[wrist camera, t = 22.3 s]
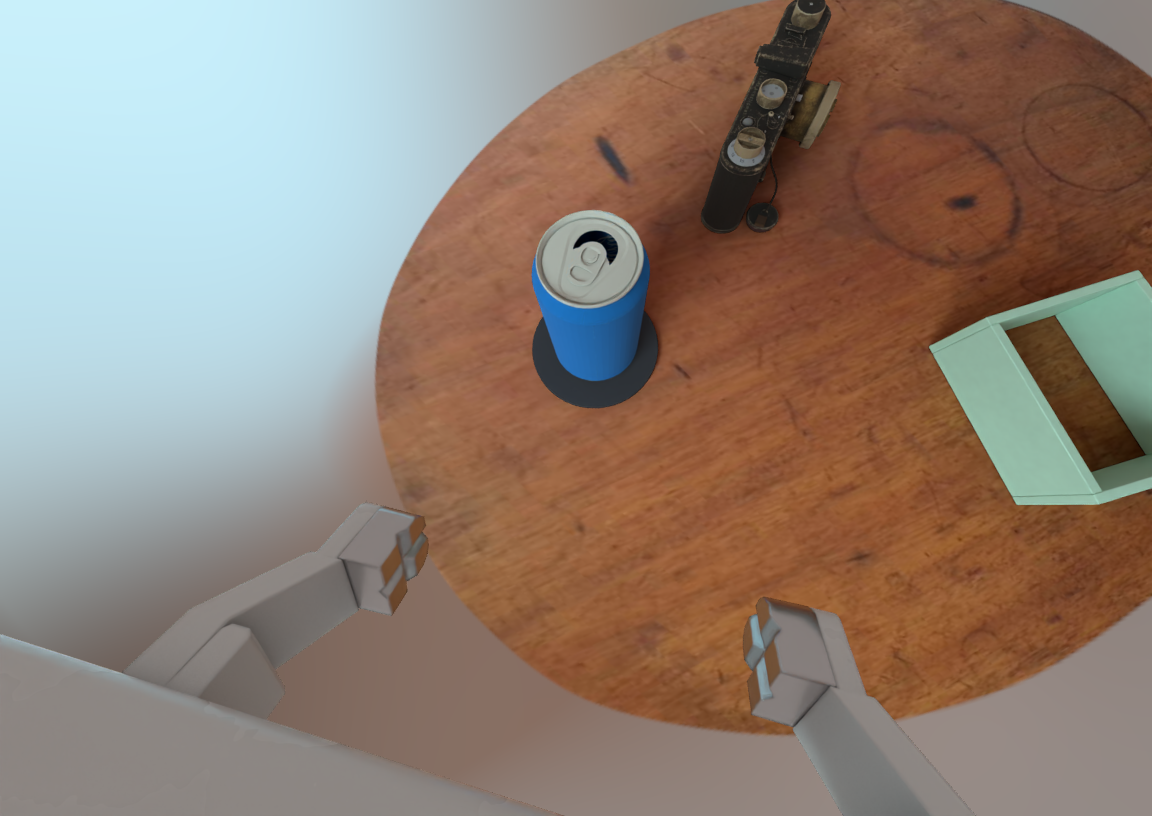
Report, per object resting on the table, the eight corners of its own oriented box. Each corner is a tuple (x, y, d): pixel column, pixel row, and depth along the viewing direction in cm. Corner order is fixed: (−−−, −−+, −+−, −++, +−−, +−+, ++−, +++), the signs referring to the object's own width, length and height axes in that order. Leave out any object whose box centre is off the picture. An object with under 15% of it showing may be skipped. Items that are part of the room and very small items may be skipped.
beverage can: (650, 327, 33) (673, 229, 21) (614, 397, 32) (617, 335, 20) (579, 295, 34) (563, 186, 23) (541, 362, 33) (504, 283, 22)
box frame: (1159, 460, 28) (1272, 451, 24) (1015, 505, 28) (1099, 504, 24) (1057, 306, 31) (1139, 269, 27) (927, 346, 31) (986, 317, 27)
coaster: (675, 386, 32) (676, 384, 32) (552, 424, 32) (551, 423, 32) (634, 276, 35) (634, 273, 34) (519, 312, 35) (518, 310, 34)
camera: (766, 250, 34) (812, 175, 27) (689, 224, 35) (712, 145, 28) (829, 99, 37) (887, -8, 30) (756, 79, 38) (794, -29, 31)
